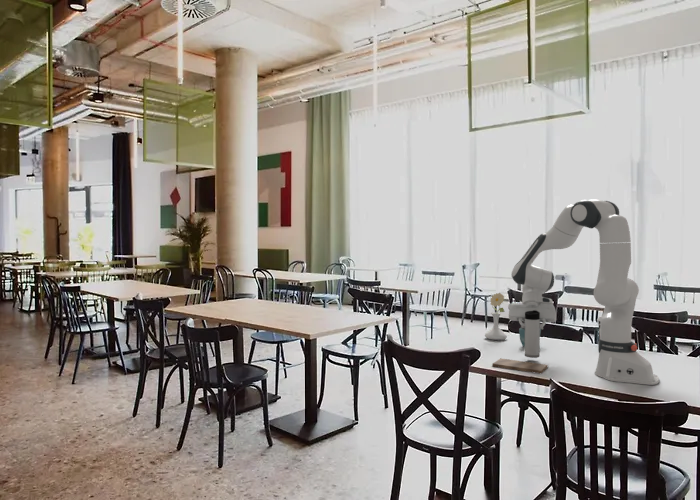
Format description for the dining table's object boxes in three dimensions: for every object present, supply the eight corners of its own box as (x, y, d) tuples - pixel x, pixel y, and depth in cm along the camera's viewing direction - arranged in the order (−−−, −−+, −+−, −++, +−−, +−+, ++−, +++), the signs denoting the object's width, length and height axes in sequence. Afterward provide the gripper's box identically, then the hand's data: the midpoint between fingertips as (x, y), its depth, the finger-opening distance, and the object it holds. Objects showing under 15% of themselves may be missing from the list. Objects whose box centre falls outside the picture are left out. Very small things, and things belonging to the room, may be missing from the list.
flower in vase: (480, 337, 284) (481, 291, 283) (499, 336, 287) (500, 290, 286) (492, 342, 271) (493, 294, 270) (512, 341, 274) (513, 293, 273)
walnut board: (547, 367, 223) (547, 364, 223) (541, 373, 214) (541, 370, 214) (500, 361, 234) (500, 358, 234) (492, 366, 225) (492, 363, 225)
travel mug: (542, 356, 235) (542, 311, 234) (535, 358, 230) (536, 312, 229) (528, 353, 239) (528, 309, 238) (522, 356, 234) (522, 311, 234)
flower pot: (541, 346, 264) (541, 328, 264) (536, 349, 257) (537, 331, 256) (523, 343, 269) (523, 326, 268) (518, 347, 261) (518, 329, 261)
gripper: (508, 298, 244) (507, 322, 235) (556, 299, 237) (557, 325, 228) (508, 306, 248) (507, 331, 239) (555, 308, 241) (556, 333, 232)
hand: (532, 328), depth 233 cm, fingers closed on travel mug, 6 cm apart
